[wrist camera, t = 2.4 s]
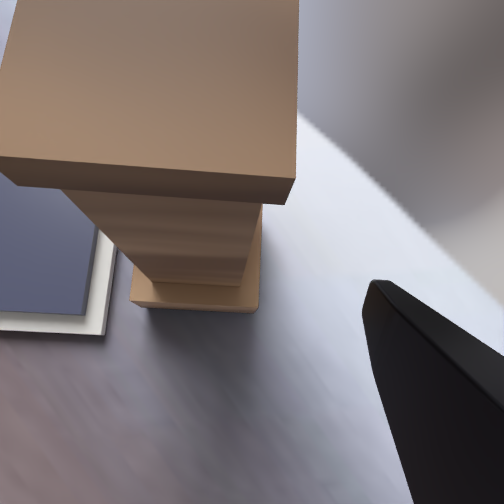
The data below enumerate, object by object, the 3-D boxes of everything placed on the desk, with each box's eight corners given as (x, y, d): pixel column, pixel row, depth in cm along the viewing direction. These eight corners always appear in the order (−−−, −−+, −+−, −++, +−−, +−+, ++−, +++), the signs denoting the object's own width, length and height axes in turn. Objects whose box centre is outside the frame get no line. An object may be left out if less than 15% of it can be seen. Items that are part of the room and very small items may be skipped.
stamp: (252, 314, 19) (331, 214, 5) (143, 308, 18) (-71, 186, 5) (257, 213, 20) (329, -74, 7) (155, 206, 20) (11, -111, 6)
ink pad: (104, 335, 18) (96, 334, 17) (-91, 325, 17) (-113, 323, 16) (128, 166, 20) (122, 155, 19) (-44, 153, 20) (-61, 141, 18)
